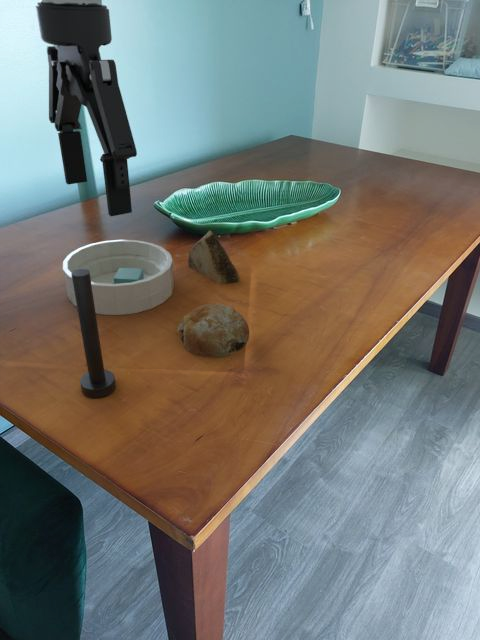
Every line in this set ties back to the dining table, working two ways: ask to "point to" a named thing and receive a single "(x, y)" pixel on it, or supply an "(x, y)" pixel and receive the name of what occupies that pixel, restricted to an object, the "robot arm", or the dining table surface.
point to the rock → (212, 260)
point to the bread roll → (214, 331)
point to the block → (128, 275)
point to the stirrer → (91, 339)
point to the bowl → (104, 266)
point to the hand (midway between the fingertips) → (97, 197)
